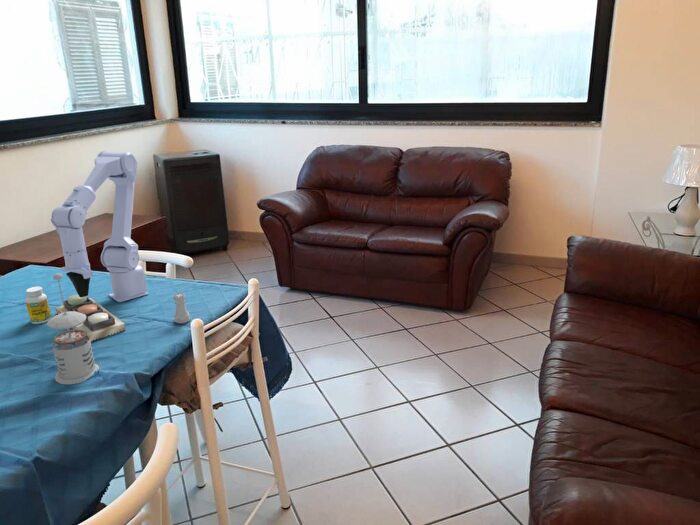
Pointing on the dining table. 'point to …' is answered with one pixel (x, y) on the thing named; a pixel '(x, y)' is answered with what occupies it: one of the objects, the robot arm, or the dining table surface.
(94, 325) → the button board
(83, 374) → the french press
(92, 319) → the button cream
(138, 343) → the dining table surface
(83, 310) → the button terracotta
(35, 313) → the supplement bottle
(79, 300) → the button sage
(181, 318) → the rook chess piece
